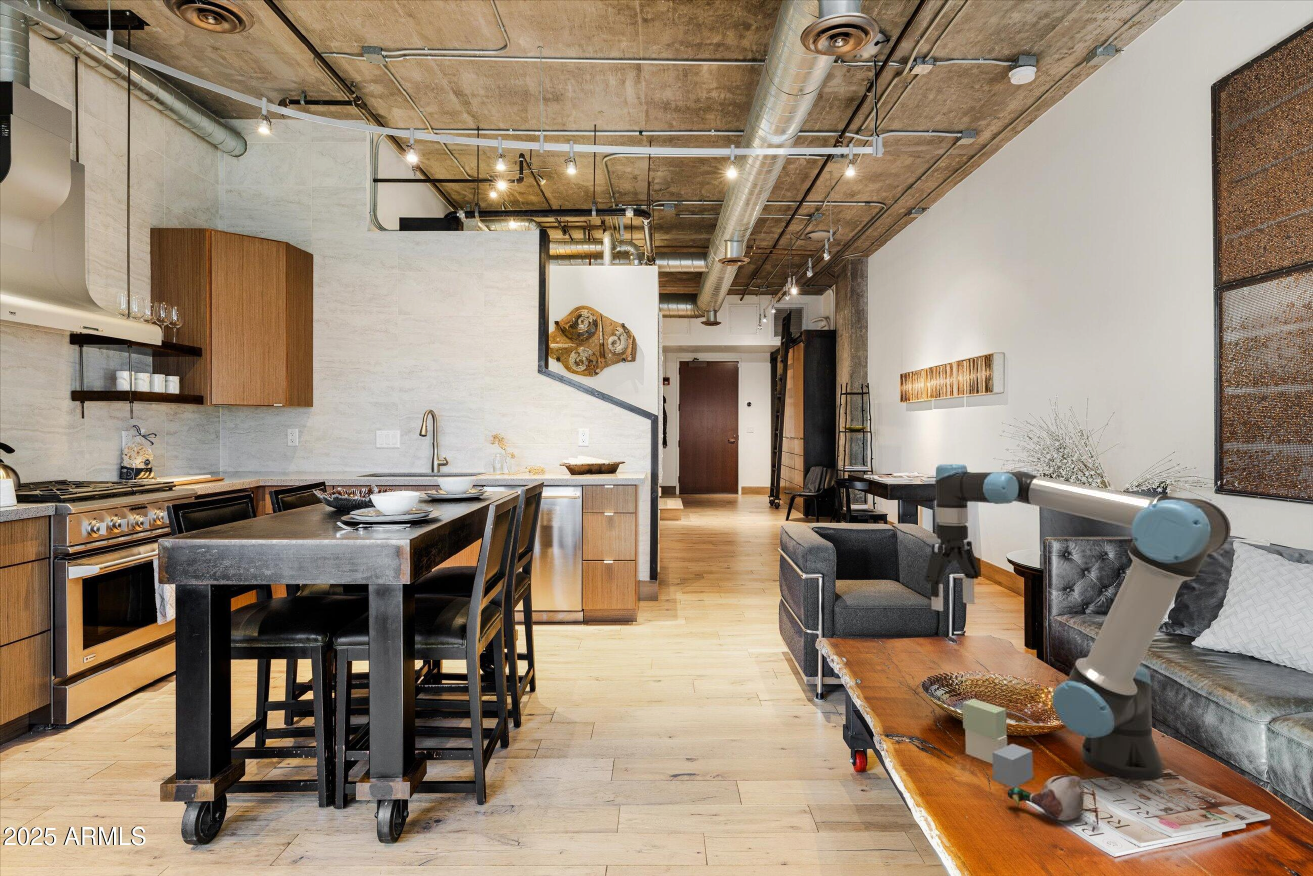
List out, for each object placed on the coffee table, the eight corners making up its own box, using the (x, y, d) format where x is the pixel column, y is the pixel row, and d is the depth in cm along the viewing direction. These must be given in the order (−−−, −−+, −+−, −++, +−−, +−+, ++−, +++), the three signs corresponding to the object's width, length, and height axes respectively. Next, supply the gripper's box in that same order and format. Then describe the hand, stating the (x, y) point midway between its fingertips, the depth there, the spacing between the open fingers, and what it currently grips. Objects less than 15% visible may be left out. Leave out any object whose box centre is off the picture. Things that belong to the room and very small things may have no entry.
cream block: (1007, 762, 154) (1006, 736, 154) (998, 766, 152) (998, 739, 152) (974, 750, 161) (974, 724, 161) (965, 753, 159) (965, 728, 159)
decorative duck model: (1001, 781, 132) (1014, 751, 144) (1006, 821, 131) (1019, 787, 143) (1091, 797, 123) (1097, 764, 135) (1097, 839, 122) (1103, 802, 134)
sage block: (1006, 735, 155) (1006, 709, 155) (996, 739, 152) (995, 713, 152) (973, 723, 161) (973, 698, 161) (963, 728, 159) (962, 702, 159)
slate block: (1013, 770, 150) (1012, 743, 150) (1033, 778, 146) (1032, 750, 146) (993, 780, 146) (992, 752, 146) (1013, 788, 142) (1012, 760, 142)
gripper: (966, 520, 183) (967, 598, 182) (909, 525, 169) (910, 609, 169) (993, 522, 177) (994, 603, 176) (935, 528, 163) (937, 615, 162)
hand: (953, 606), depth 172 cm, fingers open, 13 cm apart
